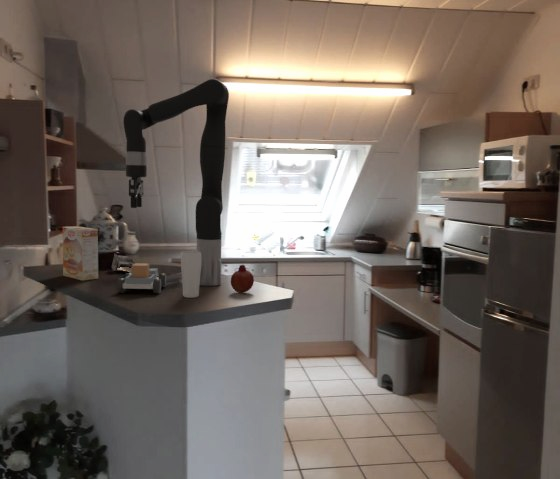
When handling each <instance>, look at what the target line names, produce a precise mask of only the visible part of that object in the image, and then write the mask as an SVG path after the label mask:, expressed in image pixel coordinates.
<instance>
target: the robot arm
mask: <svg viewBox="0 0 560 479" xmlns="http://www.w3.org/2000/svg"><path fill="white" fill-rule="evenodd" d="M229 96H230V93H229V89H228V87H227V86H226V85H225V83H223V82H222V81H220V80H219V79H216V78H210V79H207V80H205V81H203V82H202V83H200V84H198V85H196V86H195V87H193V88H190V89H188V90H186V91H184V92H182V93H180V94H177V95H174V96H172V97H169V98H166V99H162V100H159V101H157V102H155V103H152V104H150V105H148V108H145V109H142V110H137V109H129V110H127V111H126V112H125V113H124V116H123V122H122V123H123V129H124V134H125V139H126V155H125V177H127V178H131V179H128V196H129V198H130V208H131V209H136V208H142V207H143V201H142V199H143V196H144V180H143V179H142V178H146V177H147V174H148V173H147V150H146V149H147V148H146V147H147V143H146V142H147V141H146V138H145V137H144V136H143V135H144V134H143V130H147V129H149V128H150V127H152V126H155V125H156V124H159V123H162V122H165V121H167V120H170V119H173V118H175V117H177V116H180V115H181V114H183V113H185V112H186V111H189V110H190V109H193V108H196V107H199V106H205V107H206V108H205V109H206V118H205V119H206V120H205V125H204V127H203V128H204V129H203V131H202V134H201V135H202V136H201V138H200V147H199V165H200V173H201V179H202V180H201V181H202V182H201V183H202V184H201V187H202V188H201V194H200V195H201V196H200V199H199V200H198V201H197V203H196V205H195V233H196V251H199V252H201V274H200V285H199V286H205V287H207V286H209V287H211V286H221V285H222V284H221V283H222V228H221V221H222V220H221V215H222V213H223V208H224V206H223V205H224V204H223V189H222V188H223V187H222V186H223V185H222V184H223V183H222V182H223V175H224V170H225V169H224V168H225V159H226V119H227V113H228V112H227V110H228V105H229V98H230V97H229Z"/></svg>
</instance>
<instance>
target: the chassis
mask: <svg viewBox="0 0 560 479" xmlns="http://www.w3.org/2000/svg"><path fill="white" fill-rule="evenodd" d="M157 276H159V277H157ZM166 286H167V273H165V272H164V273H162V272H161V273H160V272H159V268H158V267H157V268H150V278H132V273H127V272H125V274H124V278H123V277H121V278H120V277H118V279H117V281H116V292H117V293H118V294H125V293H126V290H127V289H136V290H143V289H144V290H152V293H153V294H161V292H162V288H166Z"/></svg>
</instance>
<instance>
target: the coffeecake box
mask: <svg viewBox="0 0 560 479" xmlns="http://www.w3.org/2000/svg"><path fill="white" fill-rule="evenodd" d="M98 230H99V229H98V228H92V227H91V228H90V227H85V226H62V230H61V231H62V276H63V277H67V278H70V279H75V280H78V281H79V280H80V281H89V280H91V281H92V280H98V279H99V240H98V238H99V237H98V236H99V234H98V233H99V231H98Z"/></svg>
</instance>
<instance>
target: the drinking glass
mask: <svg viewBox="0 0 560 479" xmlns="http://www.w3.org/2000/svg"><path fill="white" fill-rule="evenodd" d="M180 270H181V282H182V295H183V296H182V297H184V298H187V299H194V298H195V299H196V298H199V296H200V286H201V285H200V274H201V252H199V251H197V250H186V251H181V252H180Z"/></svg>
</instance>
